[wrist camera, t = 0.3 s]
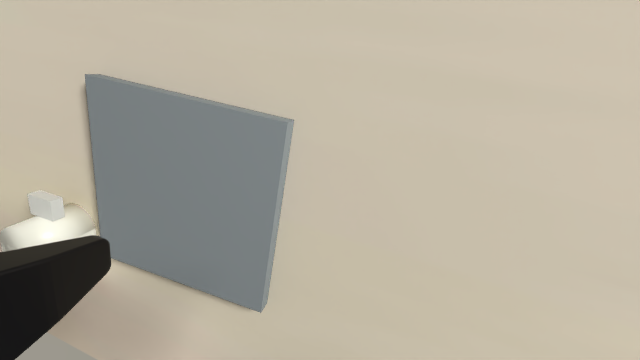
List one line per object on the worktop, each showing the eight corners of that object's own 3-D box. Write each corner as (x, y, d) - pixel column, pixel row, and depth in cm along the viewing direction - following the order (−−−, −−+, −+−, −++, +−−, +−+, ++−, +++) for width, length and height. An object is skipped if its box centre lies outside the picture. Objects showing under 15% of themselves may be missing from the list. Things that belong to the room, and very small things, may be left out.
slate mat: (266, 302, 27) (260, 312, 26) (113, 247, 30) (102, 254, 28) (294, 120, 21) (287, 122, 20) (99, 74, 24) (84, 74, 23)
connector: (101, 286, 32) (50, 321, 27) (70, 274, 33) (15, 306, 28) (91, 191, 28) (30, 214, 23) (56, 180, 29) (-10, 200, 24)
